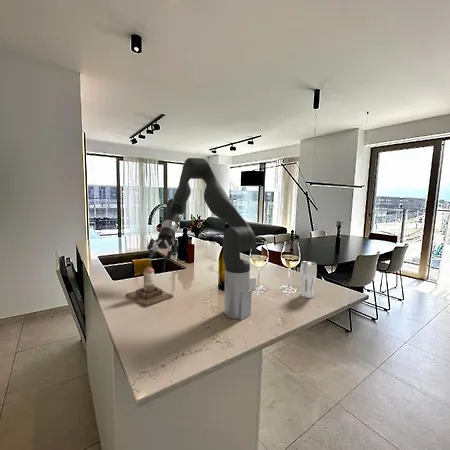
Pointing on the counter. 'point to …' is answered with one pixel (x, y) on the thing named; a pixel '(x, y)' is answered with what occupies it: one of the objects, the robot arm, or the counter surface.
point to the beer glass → (308, 278)
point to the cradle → (149, 296)
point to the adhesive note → (252, 283)
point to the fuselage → (148, 280)
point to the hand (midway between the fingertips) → (158, 258)
